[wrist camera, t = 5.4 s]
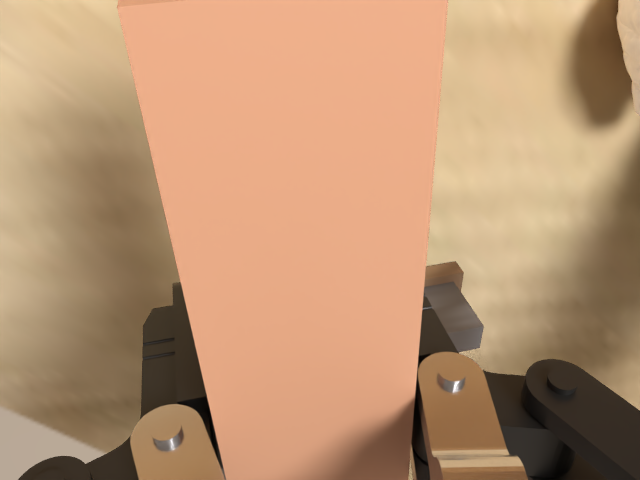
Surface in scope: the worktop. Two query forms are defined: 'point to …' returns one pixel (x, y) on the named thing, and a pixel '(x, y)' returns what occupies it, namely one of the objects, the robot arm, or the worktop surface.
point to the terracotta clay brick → (297, 216)
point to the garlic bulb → (631, 43)
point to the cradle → (451, 306)
